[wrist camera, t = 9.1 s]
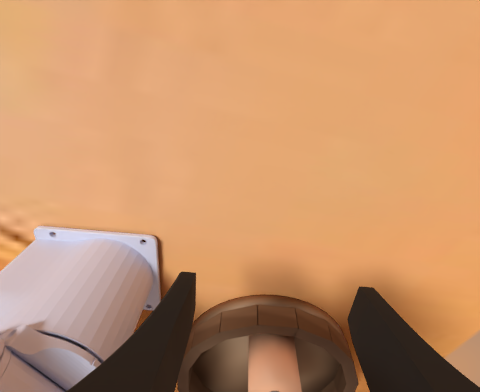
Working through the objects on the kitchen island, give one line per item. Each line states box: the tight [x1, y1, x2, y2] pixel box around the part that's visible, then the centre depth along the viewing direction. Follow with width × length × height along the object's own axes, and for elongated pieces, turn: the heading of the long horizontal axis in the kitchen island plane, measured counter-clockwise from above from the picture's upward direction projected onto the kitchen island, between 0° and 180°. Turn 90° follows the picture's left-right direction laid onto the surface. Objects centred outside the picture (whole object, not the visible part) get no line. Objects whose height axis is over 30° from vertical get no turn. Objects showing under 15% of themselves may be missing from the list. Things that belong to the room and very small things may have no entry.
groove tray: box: [177, 295, 358, 392], centre depth 28 cm, size 16×16×3 cm
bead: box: [248, 334, 302, 392], centre depth 24 cm, size 4×4×5 cm
